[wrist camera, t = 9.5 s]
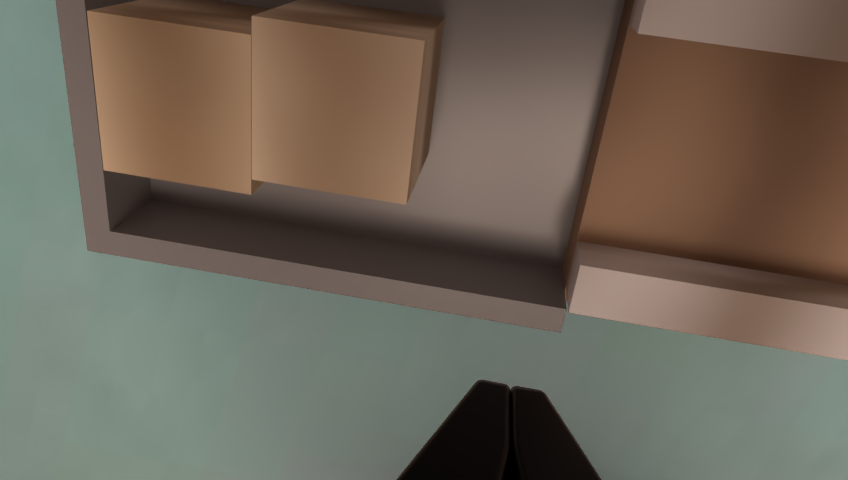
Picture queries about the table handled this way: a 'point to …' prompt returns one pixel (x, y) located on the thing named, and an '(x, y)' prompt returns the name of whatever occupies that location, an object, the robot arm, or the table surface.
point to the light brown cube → (176, 90)
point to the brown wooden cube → (343, 97)
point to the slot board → (720, 175)
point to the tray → (433, 192)
